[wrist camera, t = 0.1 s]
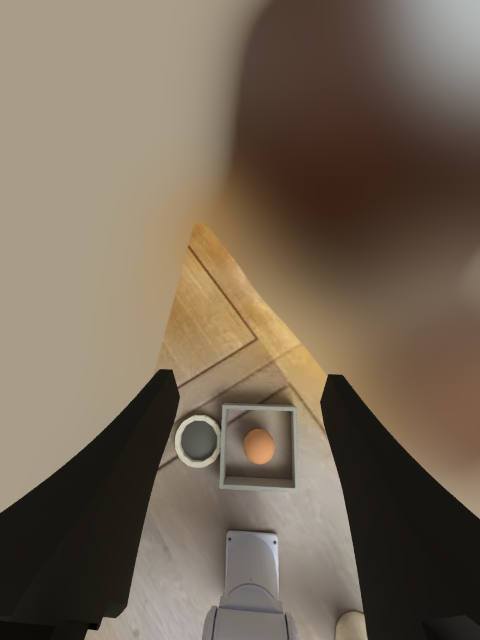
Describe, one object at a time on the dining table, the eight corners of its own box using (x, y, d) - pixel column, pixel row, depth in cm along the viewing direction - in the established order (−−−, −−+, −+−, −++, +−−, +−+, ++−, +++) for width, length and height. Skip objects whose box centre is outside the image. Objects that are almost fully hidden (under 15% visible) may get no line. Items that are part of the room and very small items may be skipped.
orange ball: (273, 458, 39) (276, 470, 34) (243, 457, 39) (242, 468, 34) (273, 426, 40) (275, 433, 35) (244, 425, 40) (242, 432, 35)
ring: (221, 465, 39) (220, 468, 38) (175, 463, 39) (173, 466, 38) (223, 415, 41) (222, 416, 40) (179, 413, 41) (177, 414, 40)
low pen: (296, 483, 38) (299, 493, 35) (222, 479, 38) (219, 488, 36) (293, 404, 40) (296, 407, 37) (224, 402, 41) (222, 405, 38)
